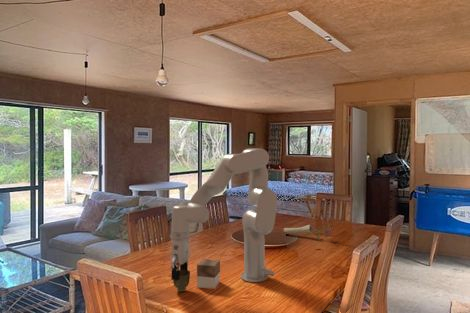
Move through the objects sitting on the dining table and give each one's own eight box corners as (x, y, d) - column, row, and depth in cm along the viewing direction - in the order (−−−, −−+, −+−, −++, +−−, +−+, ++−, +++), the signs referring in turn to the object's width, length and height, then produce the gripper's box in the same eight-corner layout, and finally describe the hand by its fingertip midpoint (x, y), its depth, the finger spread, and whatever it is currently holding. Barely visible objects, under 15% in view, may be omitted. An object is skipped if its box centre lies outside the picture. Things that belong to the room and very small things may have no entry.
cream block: (219, 282, 156) (219, 271, 156) (214, 289, 148) (214, 277, 148) (202, 280, 158) (202, 269, 158) (196, 287, 150) (196, 276, 150)
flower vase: (290, 245, 241) (339, 241, 222) (281, 243, 232) (331, 239, 213) (289, 228, 246) (336, 222, 226) (280, 225, 236) (329, 220, 217)
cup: (172, 288, 149) (172, 269, 148) (189, 286, 150) (189, 268, 150) (173, 295, 141) (172, 276, 141) (191, 293, 143) (190, 274, 143)
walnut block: (219, 271, 156) (219, 260, 155) (214, 277, 148) (214, 266, 148) (203, 269, 157) (203, 259, 157) (197, 276, 150) (197, 264, 150)
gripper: (181, 240, 136) (180, 284, 136) (195, 231, 153) (194, 269, 153) (163, 239, 138) (162, 282, 138) (179, 230, 154) (178, 268, 155)
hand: (179, 275), depth 145 cm, fingers open, 9 cm apart
